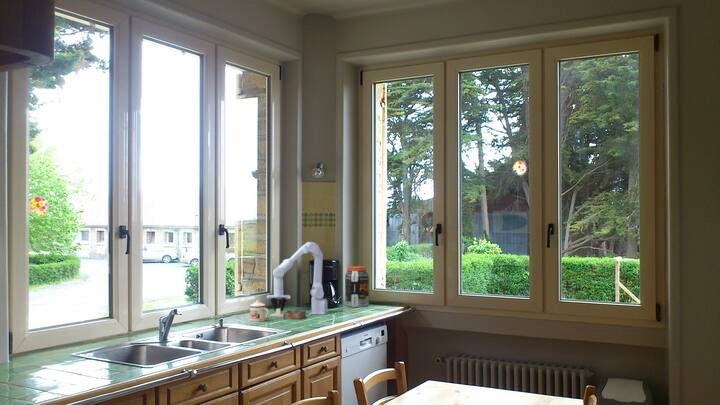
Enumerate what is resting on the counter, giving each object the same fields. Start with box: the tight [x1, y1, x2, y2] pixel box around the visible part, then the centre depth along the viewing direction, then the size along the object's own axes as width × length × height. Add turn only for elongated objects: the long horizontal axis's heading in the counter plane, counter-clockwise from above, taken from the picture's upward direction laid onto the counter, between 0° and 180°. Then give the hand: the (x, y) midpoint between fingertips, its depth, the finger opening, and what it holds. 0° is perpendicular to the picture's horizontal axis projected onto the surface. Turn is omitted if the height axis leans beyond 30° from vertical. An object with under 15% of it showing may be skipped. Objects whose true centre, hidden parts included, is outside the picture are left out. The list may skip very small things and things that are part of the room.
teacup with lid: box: [249, 299, 270, 323], centre depth 375 cm, size 12×9×12 cm
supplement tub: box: [344, 265, 370, 308], centre depth 433 cm, size 16×16×26 cm
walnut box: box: [283, 309, 307, 320], centre depth 383 cm, size 10×10×4 cm
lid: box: [269, 307, 284, 318], centre depth 393 cm, size 8×8×4 cm
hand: (278, 310), depth 393 cm, fingers open, 4 cm apart
